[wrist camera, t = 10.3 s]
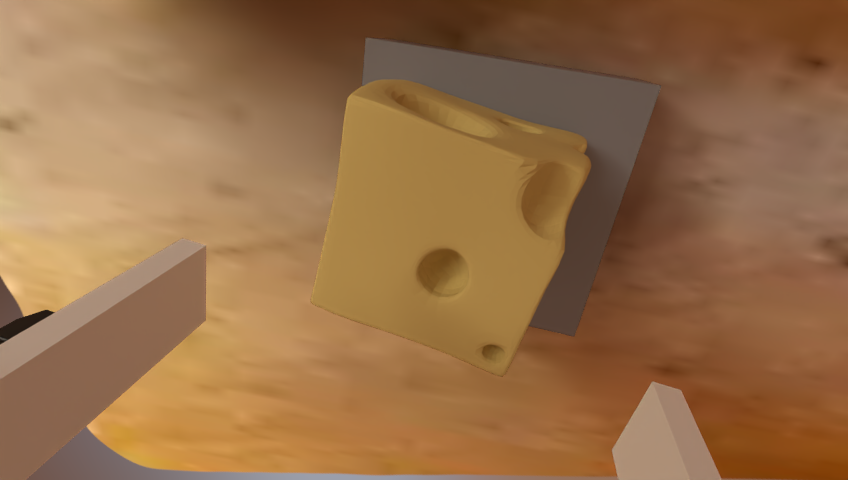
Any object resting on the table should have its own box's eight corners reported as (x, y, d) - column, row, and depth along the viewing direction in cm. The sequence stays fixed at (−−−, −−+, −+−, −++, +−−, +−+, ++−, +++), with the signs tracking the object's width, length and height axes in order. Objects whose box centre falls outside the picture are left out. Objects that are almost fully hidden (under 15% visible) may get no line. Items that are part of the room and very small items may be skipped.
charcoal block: (393, 39, 31) (365, 37, 25) (635, 78, 29) (661, 85, 23) (371, 248, 37) (345, 282, 32) (566, 292, 35) (574, 336, 30)
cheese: (583, 131, 25) (616, 179, 16) (510, 289, 30) (504, 395, 21) (407, 70, 26) (343, 82, 17) (363, 234, 30) (293, 313, 21)
